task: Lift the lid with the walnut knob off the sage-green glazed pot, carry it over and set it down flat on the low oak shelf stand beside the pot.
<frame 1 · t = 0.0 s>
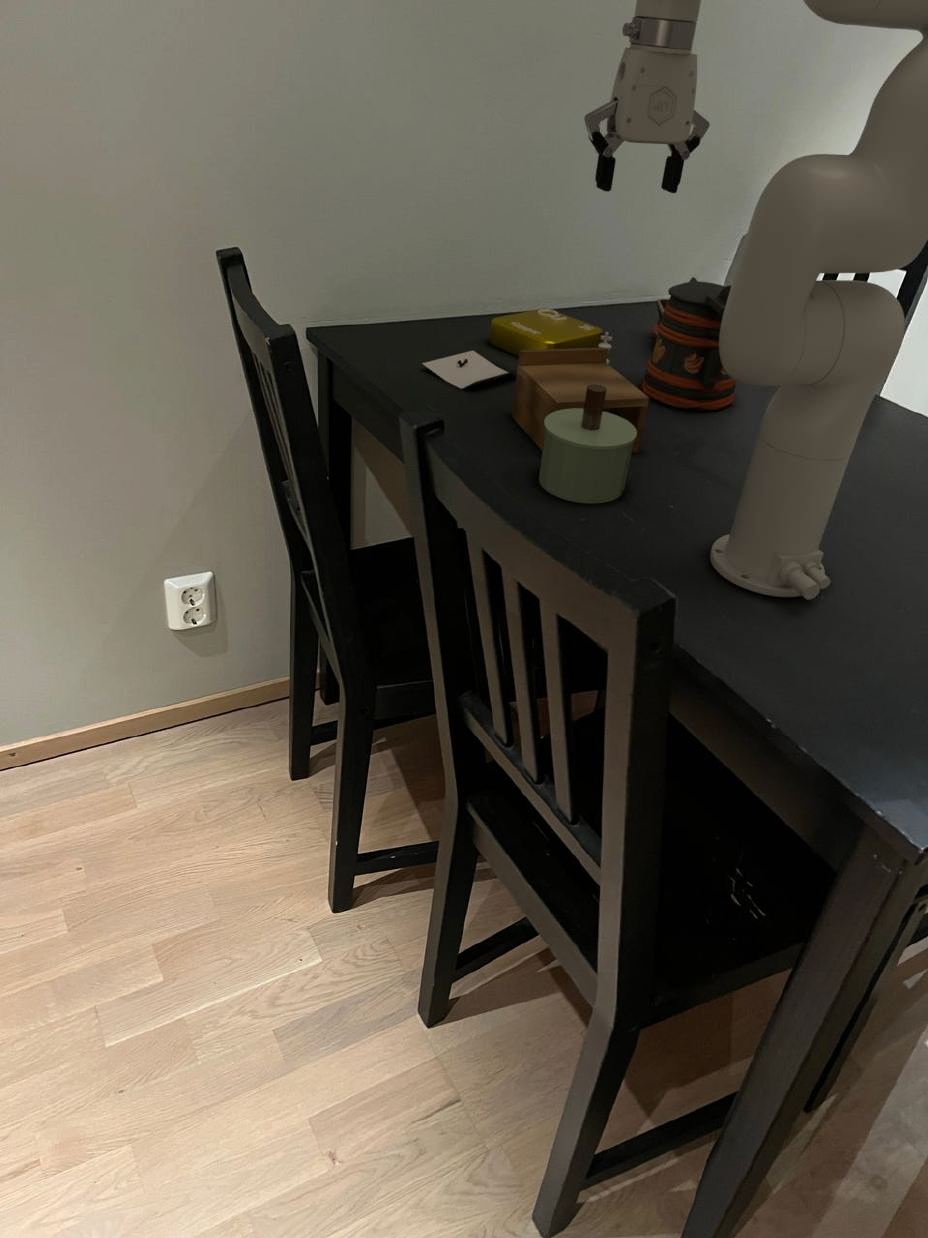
hand: (636, 190, 121), 31 cm above the table, tool pointing down, fingers open, 9 cm apart
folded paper: (473, 375, 149), on the table
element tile: (544, 349, 162), on the table
beer stein: (691, 401, 147), on the table
chess piece: (596, 396, 145), on the table
baking dish: (688, 352, 167), on the table
shelf: (573, 434, 132), on the table
pot: (580, 483, 119), on the table
lid: (589, 429, 114), point 7 cm above the table, touching pot
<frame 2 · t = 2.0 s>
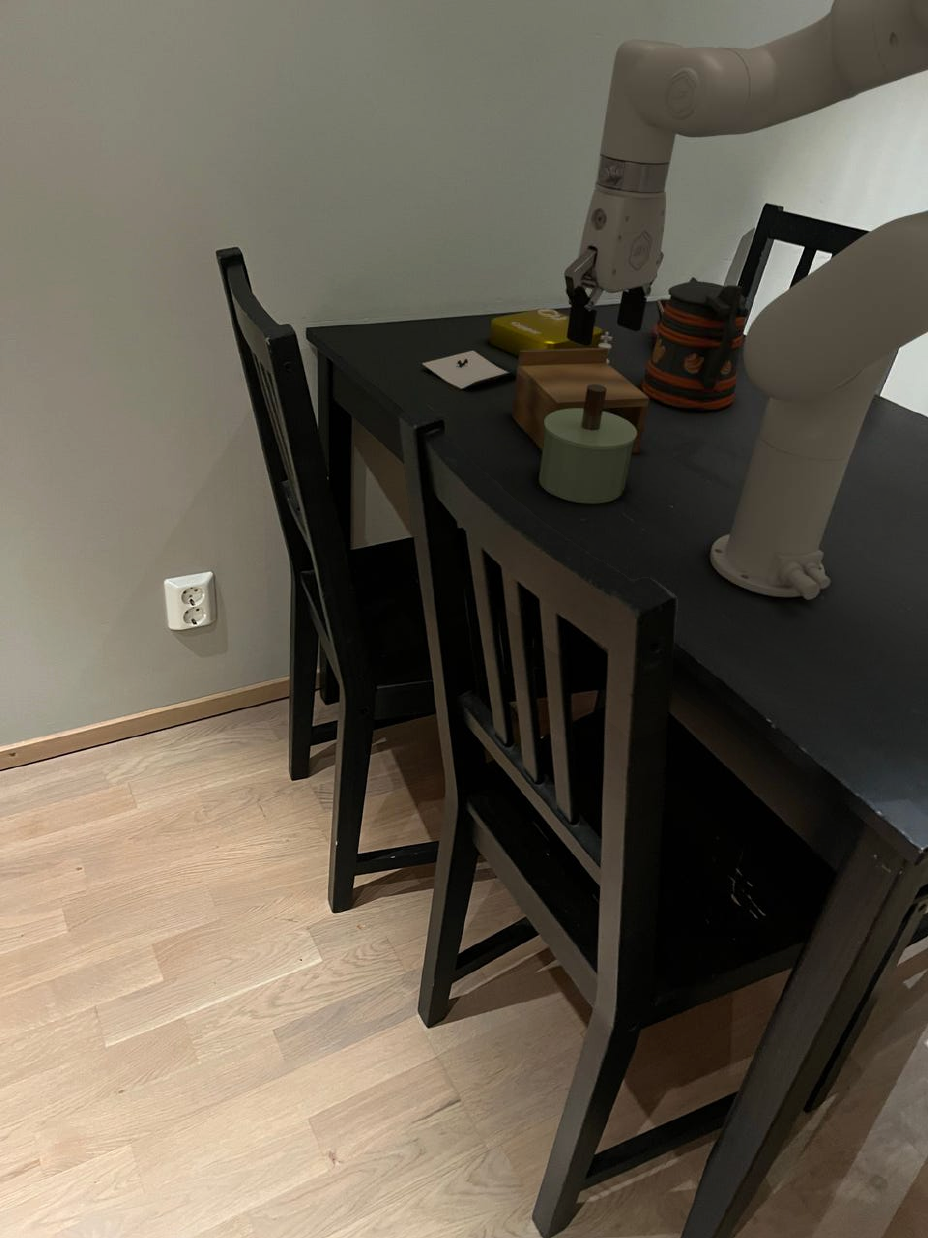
hand: (604, 334, 108), 19 cm above the table, tool pointing down, fingers open, 9 cm apart
nothing on the table moved.
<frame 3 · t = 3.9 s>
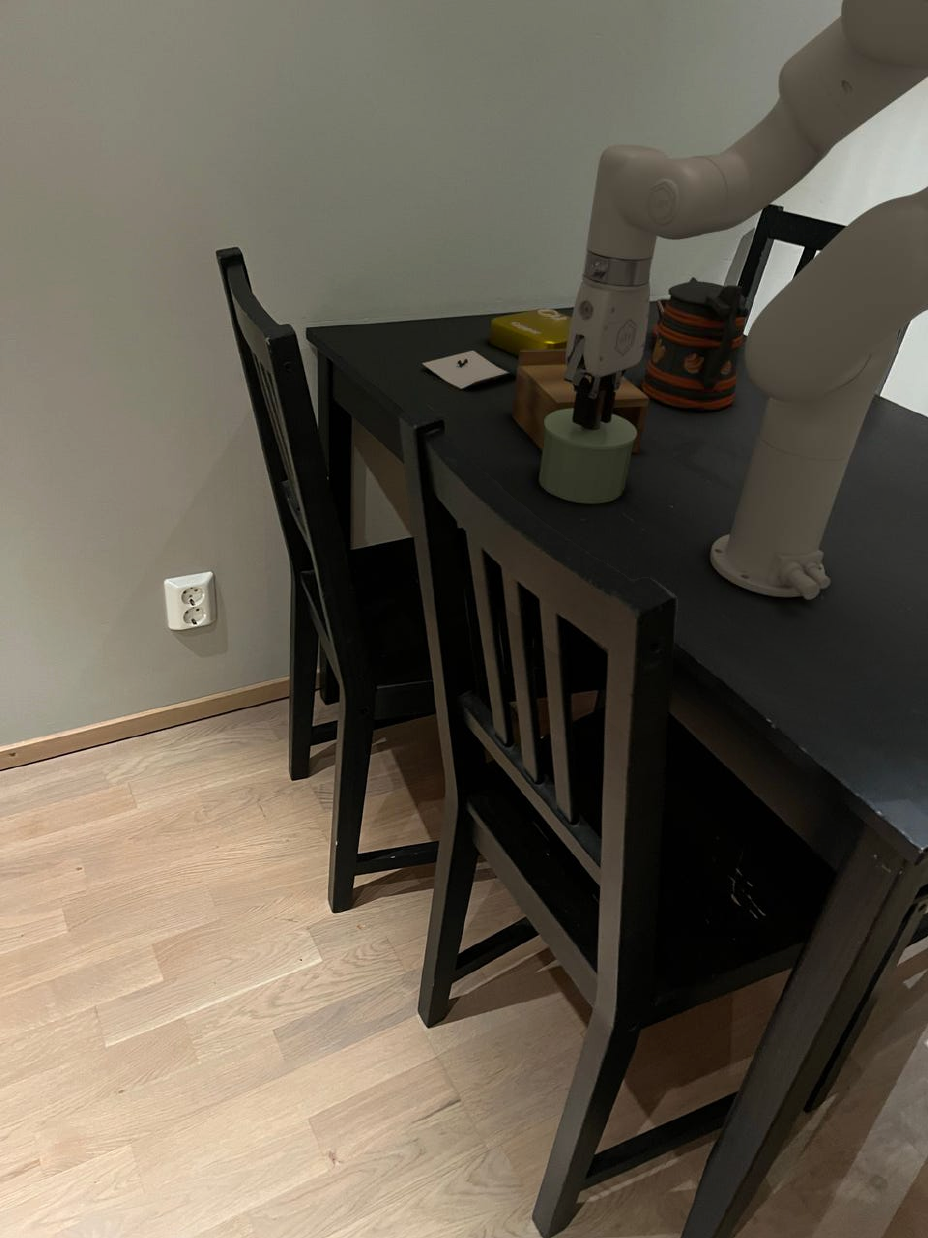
hand: (591, 421, 114), 9 cm above the table, tool pointing down, fingers closed on lid, 2 cm apart
lid: (589, 429, 114), point 7 cm above the table, touching gripper, pot
everything else where it was.
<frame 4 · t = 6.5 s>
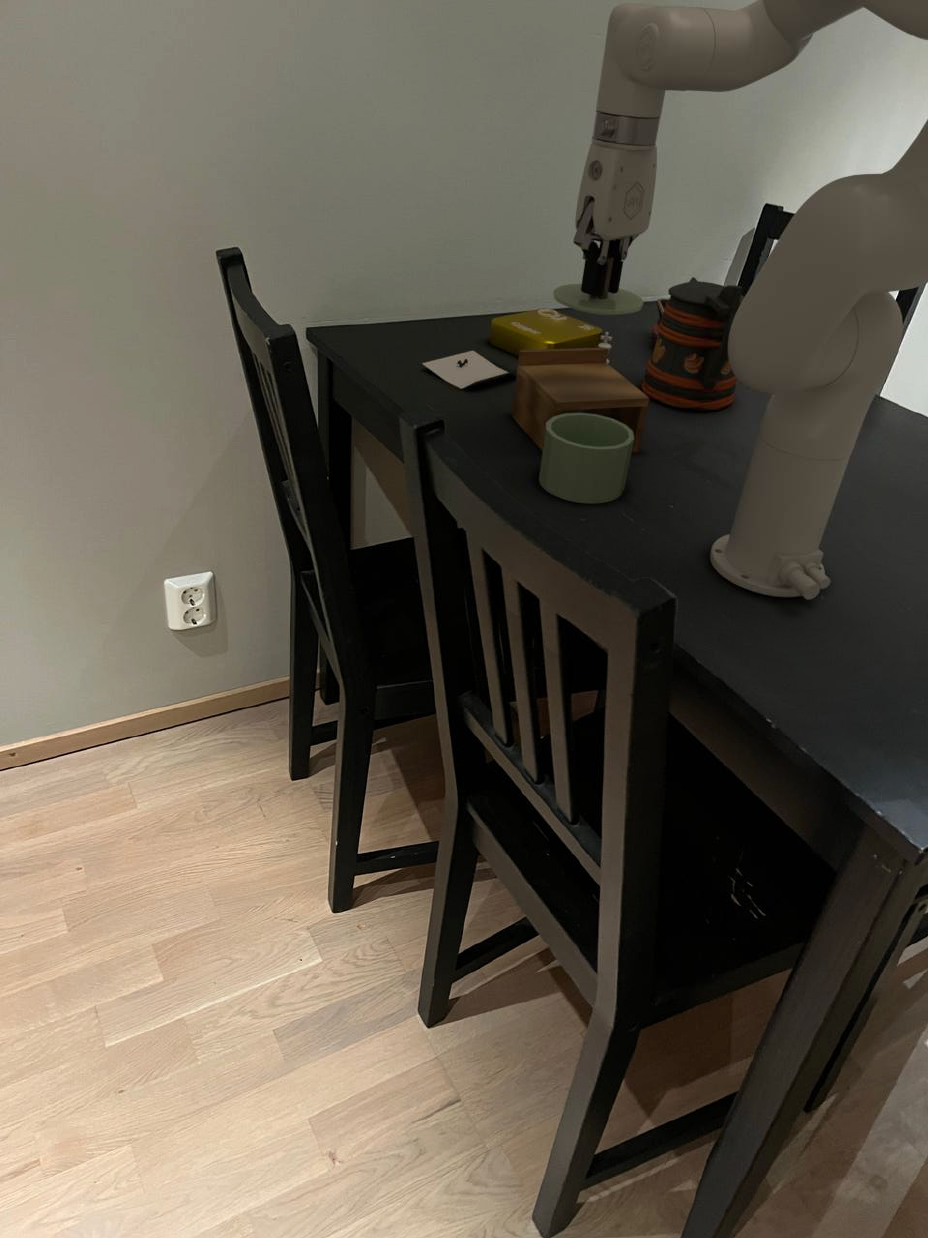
hand: (599, 291, 117), 21 cm above the table, tool pointing down, fingers closed on lid, 2 cm apart
lid: (597, 300, 118), point 20 cm above the table, touching gripper
everything else where it was.
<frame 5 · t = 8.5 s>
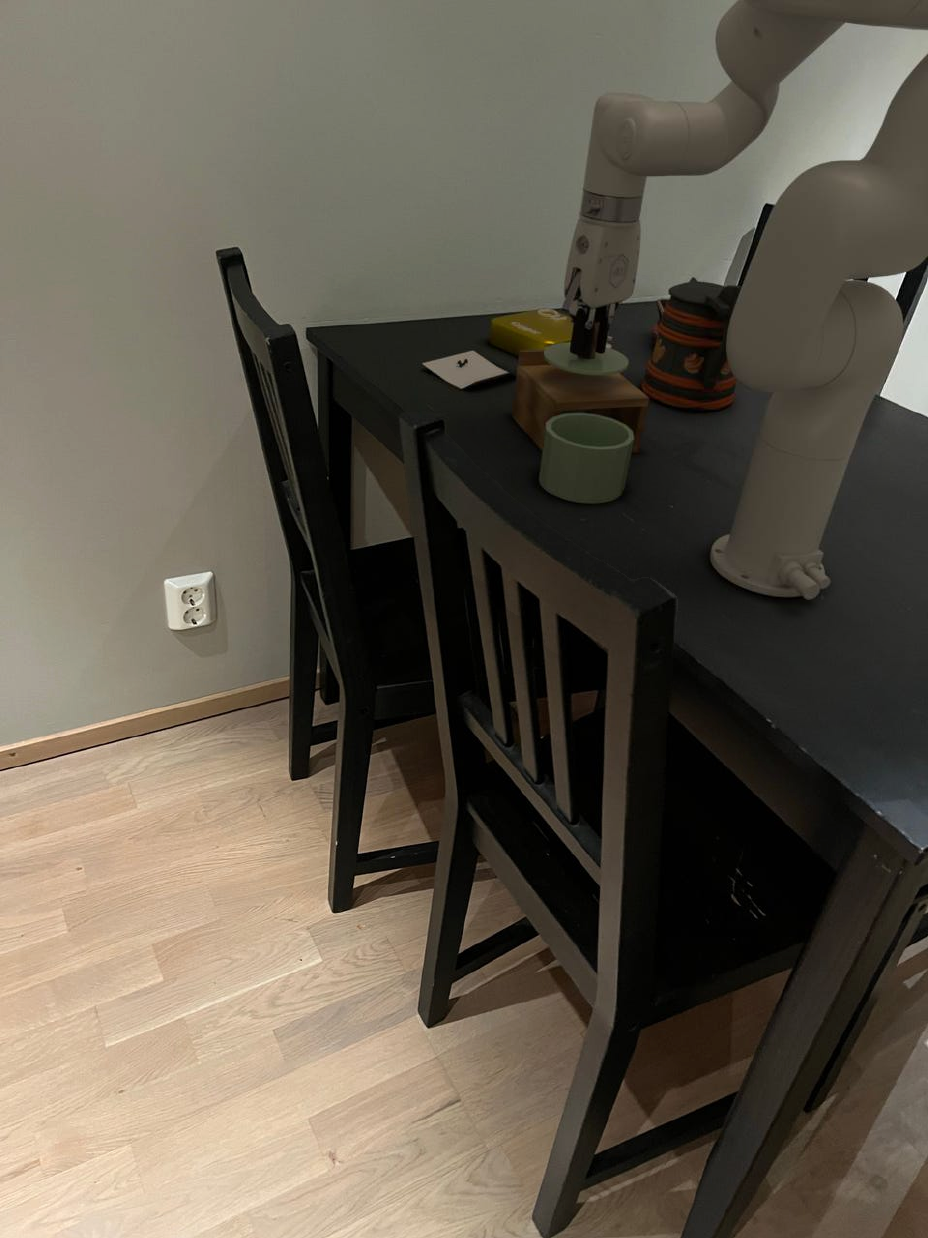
hand: (587, 351, 125), 12 cm above the table, tool pointing down, fingers closed on lid, 2 cm apart
lid: (585, 359, 125), point 11 cm above the table, touching gripper
everything else where it was.
when the fingers open (10 cm above the table, at t = 9.3 s): lid stays where it is, resting on shelf.
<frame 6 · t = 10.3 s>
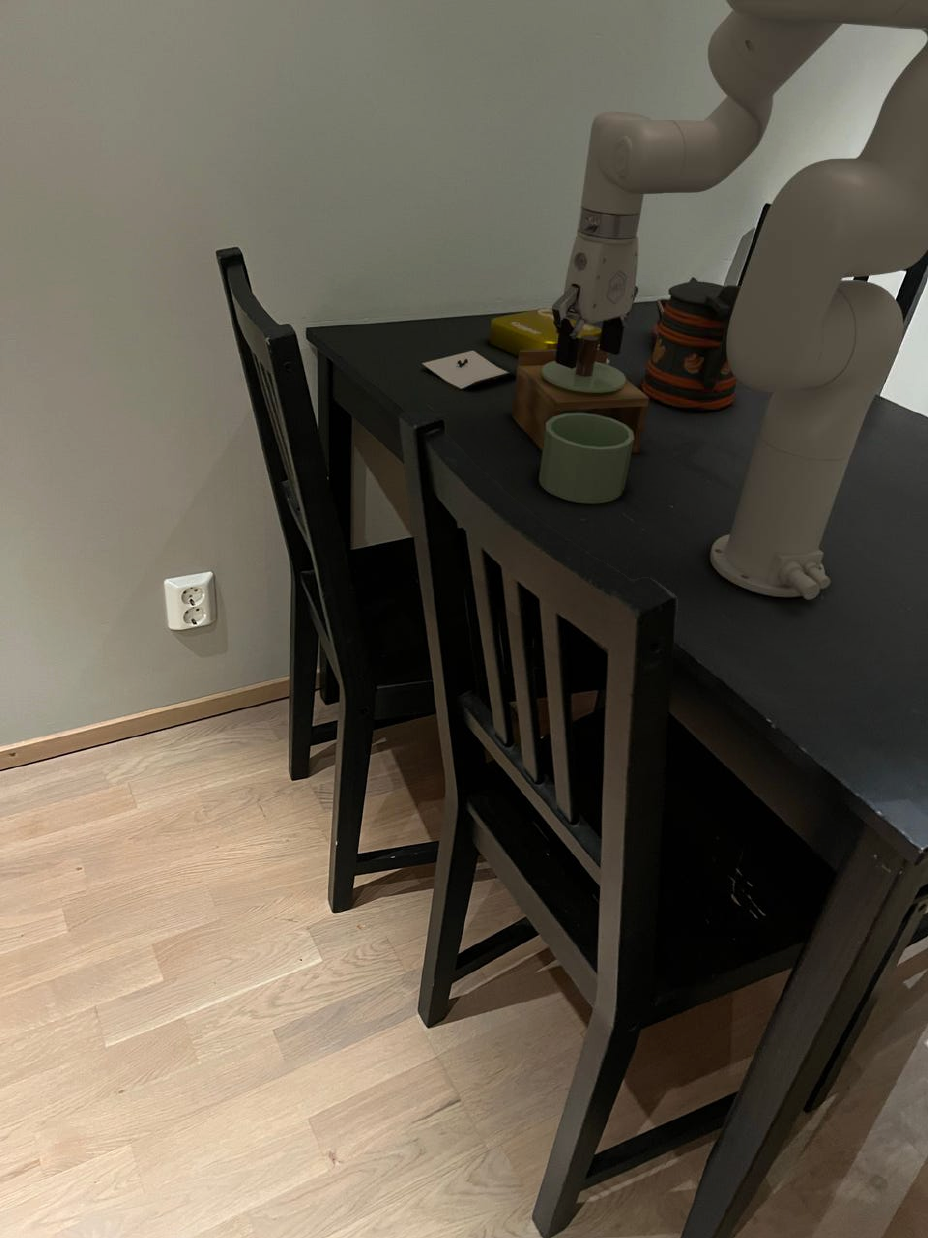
hand: (587, 358, 125), 11 cm above the table, tool pointing down, fingers open, 9 cm apart
lid: (583, 376, 126), point 9 cm above the table, touching shelf
everything else where it was.
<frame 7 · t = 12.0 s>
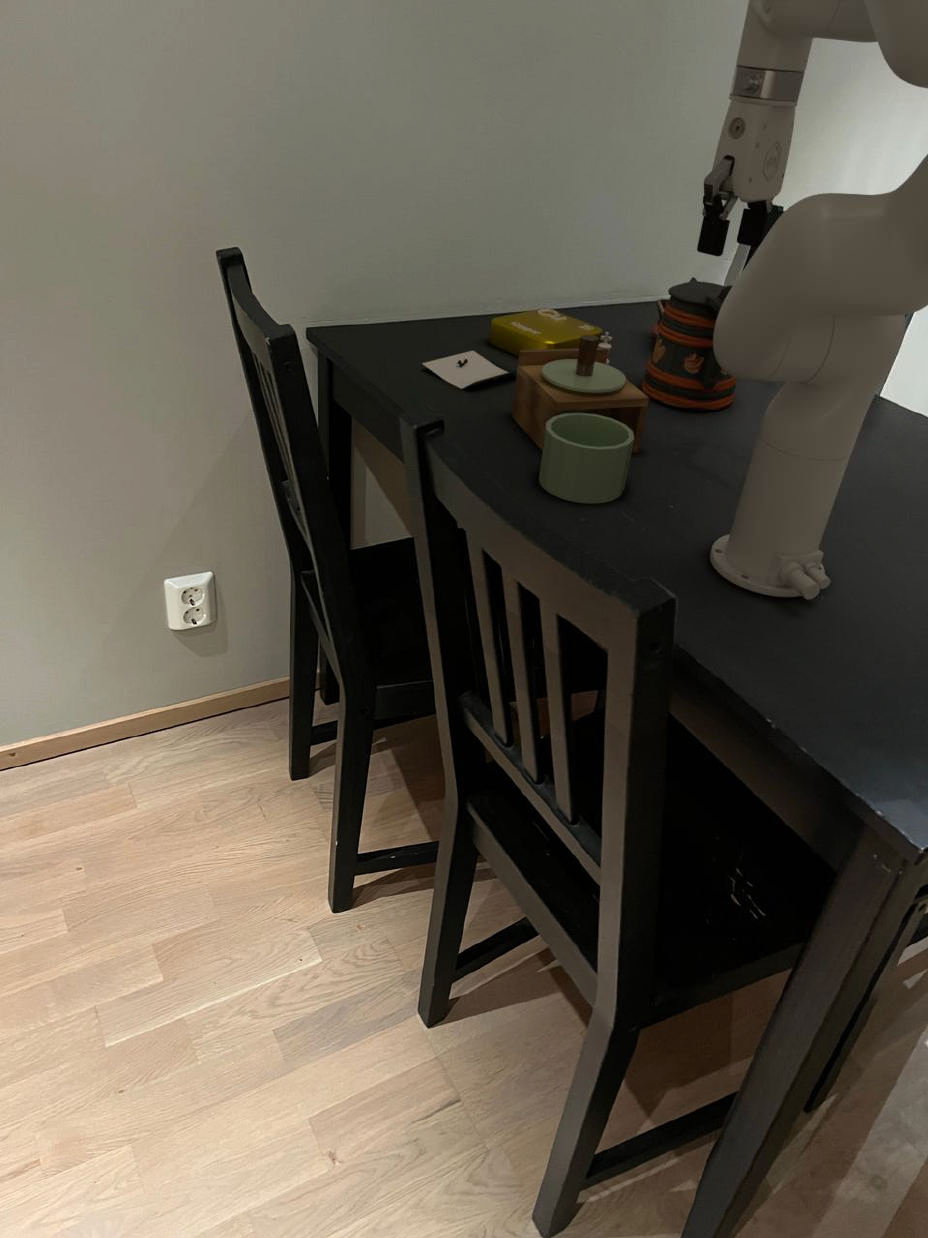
hand: (729, 249, 112), 28 cm above the table, tool pointing down, fingers open, 9 cm apart
nothing on the table moved.
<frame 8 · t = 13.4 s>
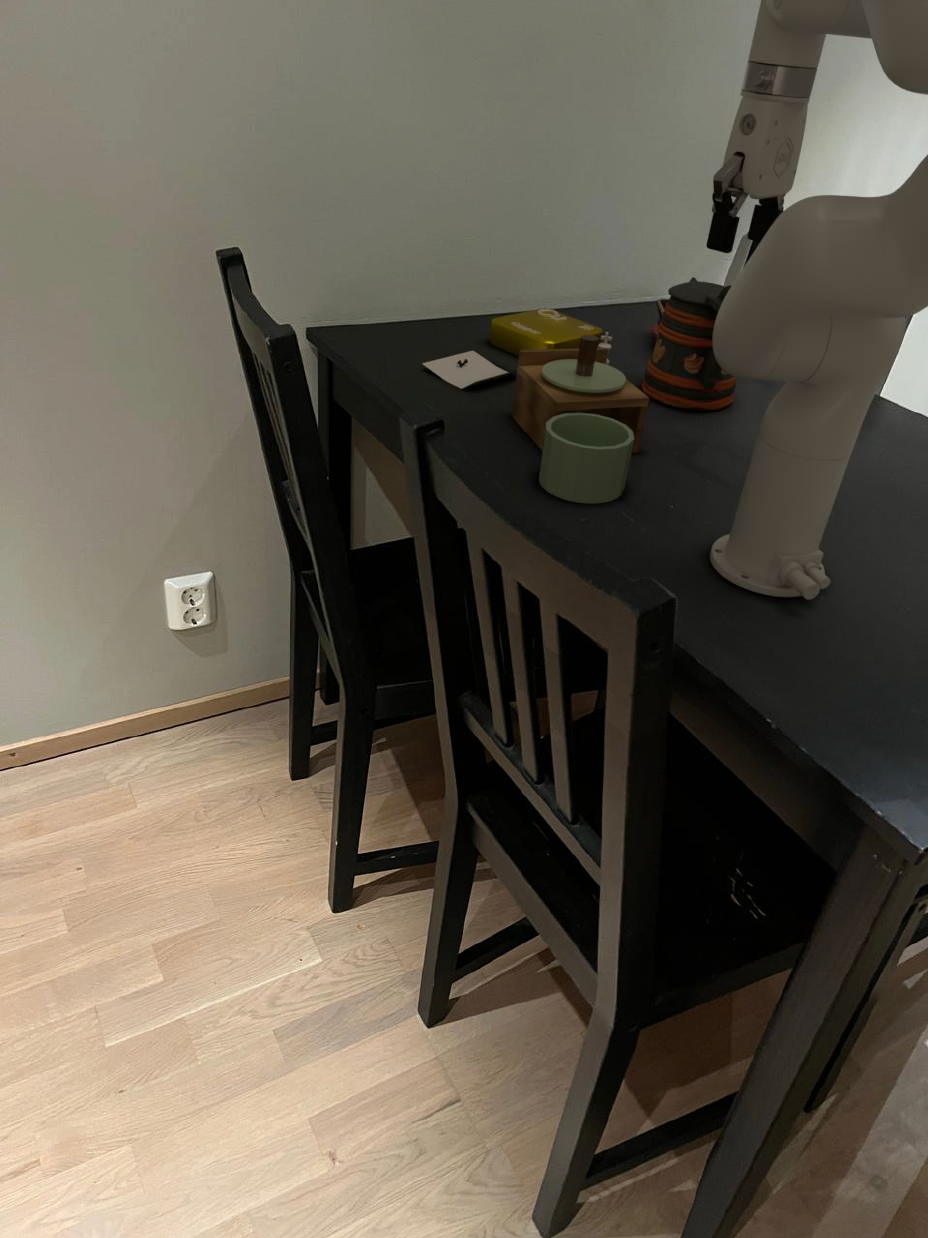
hand: (739, 245, 111), 28 cm above the table, tool pointing down, fingers open, 9 cm apart
nothing on the table moved.
at the end: lid inside the target area on the shelf (0.0 cm from its centre), point 8.6 cm above the shelf's base; lid tilted 0°; the gripper is holding nothing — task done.
